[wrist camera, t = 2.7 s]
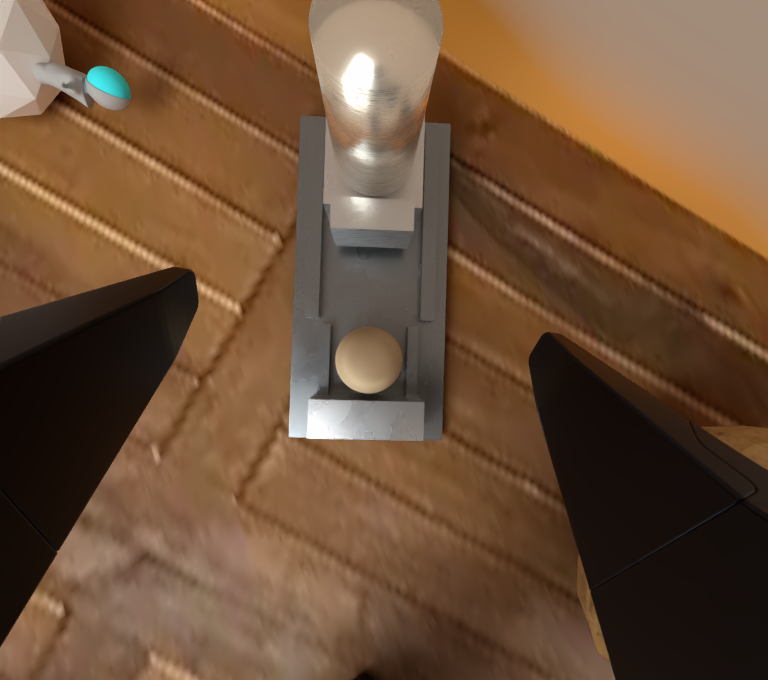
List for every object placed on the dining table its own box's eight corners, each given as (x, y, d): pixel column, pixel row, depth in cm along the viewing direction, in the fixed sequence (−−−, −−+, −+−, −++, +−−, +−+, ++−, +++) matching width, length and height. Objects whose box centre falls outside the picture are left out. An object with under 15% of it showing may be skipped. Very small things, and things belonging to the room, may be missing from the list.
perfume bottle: (-82, -101, 18) (165, 1, 20) (-28, 88, 22) (168, 156, 24) (-352, -208, 11) (52, -42, 13) (-198, 87, 16) (86, 179, 18)
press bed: (438, 435, 22) (451, 453, 18) (292, 432, 21) (277, 449, 18) (447, 133, 22) (461, 93, 19) (303, 126, 22) (290, 84, 18)
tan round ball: (364, 401, 21) (363, 413, 17) (325, 354, 21) (316, 355, 17) (411, 363, 21) (420, 366, 17) (373, 315, 21) (373, 309, 17)
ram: (414, 253, 21) (456, 160, 10) (329, 249, 21) (286, 152, 10) (417, 144, 21) (462, -53, 11) (333, 140, 21) (294, -65, 10)
